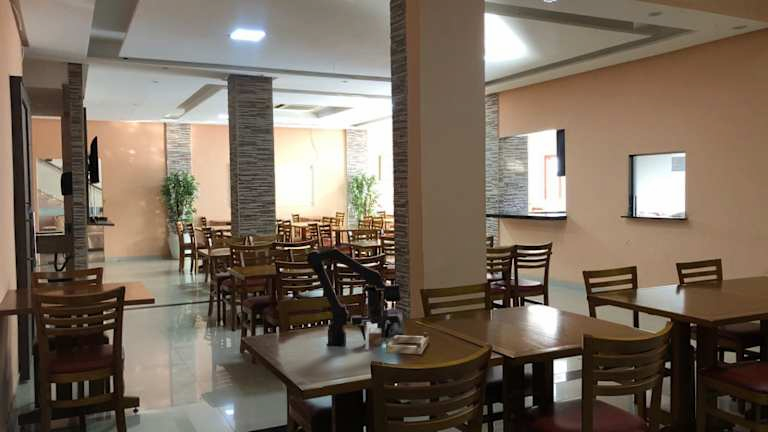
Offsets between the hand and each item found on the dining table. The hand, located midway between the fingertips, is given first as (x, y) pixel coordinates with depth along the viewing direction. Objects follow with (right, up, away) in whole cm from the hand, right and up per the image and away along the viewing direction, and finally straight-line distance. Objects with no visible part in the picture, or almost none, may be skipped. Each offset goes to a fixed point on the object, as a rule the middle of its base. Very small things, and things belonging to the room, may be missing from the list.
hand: (375, 340), depth 249 cm
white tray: (+13, -1, -8) cm, 15 cm away
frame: (0, -1, 0) cm, 1 cm away
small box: (+6, -1, +14) cm, 15 cm away
